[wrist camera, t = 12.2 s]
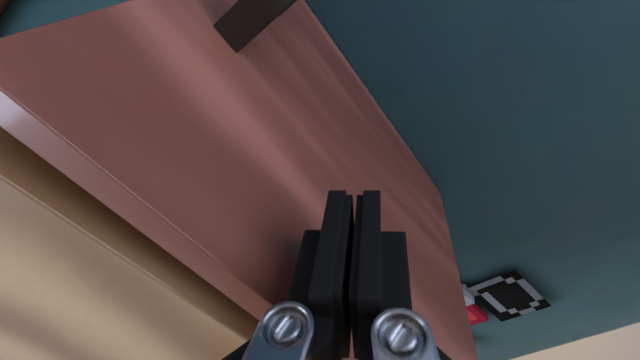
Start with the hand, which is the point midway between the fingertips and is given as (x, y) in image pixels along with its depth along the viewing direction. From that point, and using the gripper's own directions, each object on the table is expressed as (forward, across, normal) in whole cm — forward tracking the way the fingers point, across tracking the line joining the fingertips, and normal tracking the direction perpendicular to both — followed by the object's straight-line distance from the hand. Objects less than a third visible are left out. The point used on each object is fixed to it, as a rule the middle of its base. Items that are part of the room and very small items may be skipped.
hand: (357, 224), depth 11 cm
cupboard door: (+21, -2, +3) cm, 22 cm away
